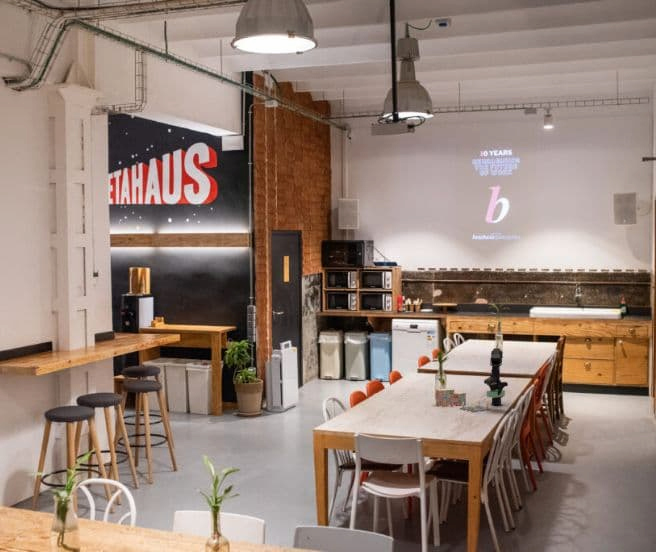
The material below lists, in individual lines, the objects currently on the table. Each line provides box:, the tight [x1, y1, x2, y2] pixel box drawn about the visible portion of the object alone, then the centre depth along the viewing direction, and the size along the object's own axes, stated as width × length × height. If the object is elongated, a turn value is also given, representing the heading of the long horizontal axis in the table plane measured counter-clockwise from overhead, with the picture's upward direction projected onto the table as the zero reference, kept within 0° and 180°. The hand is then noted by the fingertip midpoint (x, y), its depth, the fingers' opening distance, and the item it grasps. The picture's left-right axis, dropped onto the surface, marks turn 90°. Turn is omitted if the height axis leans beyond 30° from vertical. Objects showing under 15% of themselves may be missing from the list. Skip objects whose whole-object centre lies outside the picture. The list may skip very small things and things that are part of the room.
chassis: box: [459, 399, 492, 413], centre depth 580 cm, size 17×14×6 cm
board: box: [486, 389, 506, 399], centre depth 576 cm, size 12×6×4 cm, turn 122°
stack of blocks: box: [435, 387, 467, 407], centre depth 597 cm, size 21×6×12 cm, turn 102°
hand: (495, 394), depth 576 cm, fingers closed on board, 6 cm apart
